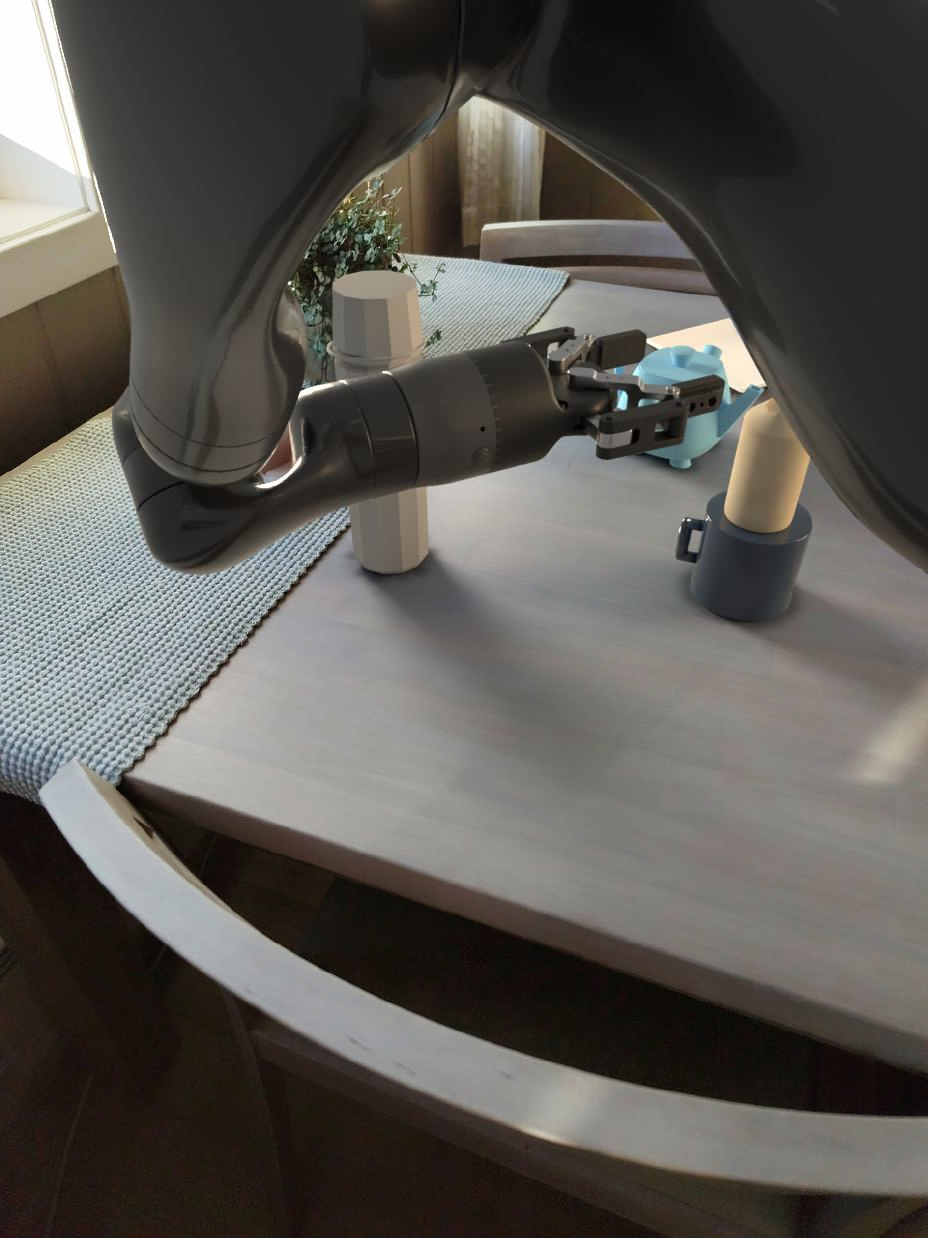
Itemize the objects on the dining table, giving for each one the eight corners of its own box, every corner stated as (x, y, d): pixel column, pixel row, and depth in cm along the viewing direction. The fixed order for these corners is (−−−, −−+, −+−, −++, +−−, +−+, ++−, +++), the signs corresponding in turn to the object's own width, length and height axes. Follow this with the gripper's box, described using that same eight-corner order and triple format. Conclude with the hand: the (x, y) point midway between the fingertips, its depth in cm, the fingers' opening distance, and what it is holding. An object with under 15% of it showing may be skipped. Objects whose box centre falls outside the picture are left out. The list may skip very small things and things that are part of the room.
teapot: (753, 477, 92) (778, 375, 85) (628, 485, 91) (642, 383, 84) (706, 412, 104) (723, 318, 97) (593, 419, 102) (603, 324, 95)
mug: (793, 574, 79) (816, 499, 74) (785, 631, 73) (809, 553, 68) (679, 550, 82) (693, 476, 77) (661, 603, 76) (675, 527, 70)
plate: (738, 407, 105) (742, 391, 103) (640, 353, 117) (642, 338, 116) (845, 374, 112) (850, 358, 111) (742, 326, 124) (745, 312, 123)
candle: (720, 495, 74) (744, 385, 68) (786, 500, 74) (817, 389, 67) (726, 531, 70) (752, 417, 64) (796, 536, 69) (830, 422, 63)
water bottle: (444, 568, 80) (438, 293, 64) (361, 586, 77) (334, 307, 61) (413, 517, 86) (401, 256, 70) (336, 532, 84) (306, 268, 68)
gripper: (521, 405, 46) (762, 349, 51) (414, 317, 56) (625, 278, 61) (517, 524, 50) (738, 462, 56) (419, 424, 60) (614, 379, 66)
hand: (679, 366), depth 58 cm, fingers open, 8 cm apart
